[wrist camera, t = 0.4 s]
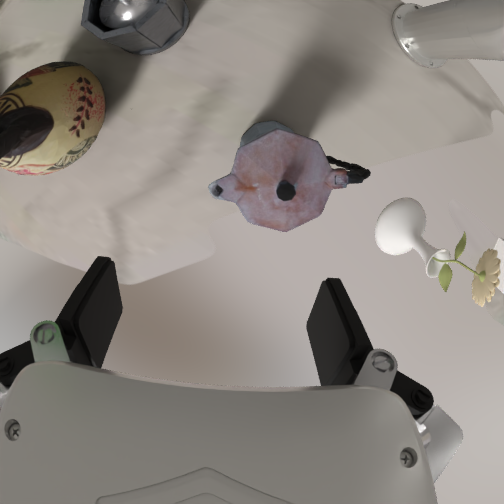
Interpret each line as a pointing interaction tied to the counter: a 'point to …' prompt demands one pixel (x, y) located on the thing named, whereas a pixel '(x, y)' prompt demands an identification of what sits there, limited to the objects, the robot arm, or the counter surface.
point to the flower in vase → (432, 248)
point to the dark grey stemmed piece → (124, 12)
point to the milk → (503, 254)
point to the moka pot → (282, 177)
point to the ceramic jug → (50, 118)
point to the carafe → (141, 27)
